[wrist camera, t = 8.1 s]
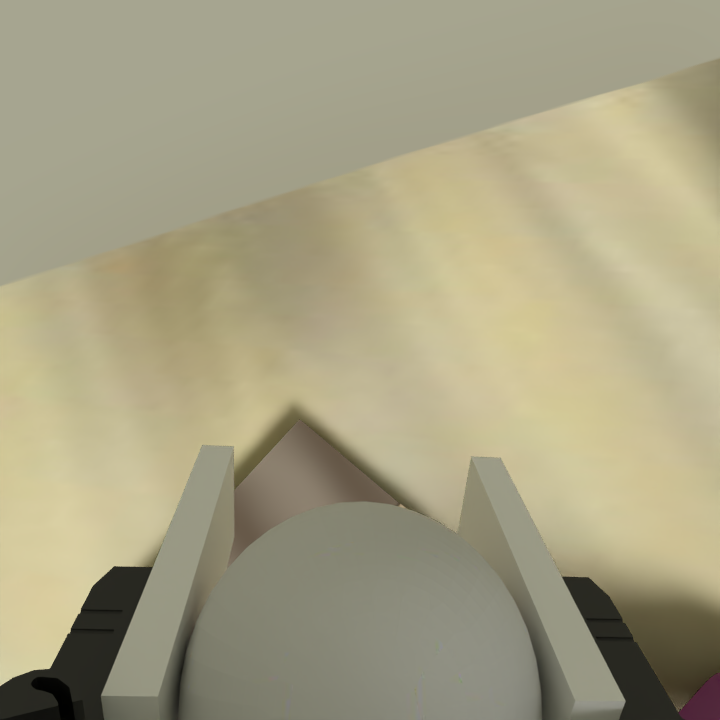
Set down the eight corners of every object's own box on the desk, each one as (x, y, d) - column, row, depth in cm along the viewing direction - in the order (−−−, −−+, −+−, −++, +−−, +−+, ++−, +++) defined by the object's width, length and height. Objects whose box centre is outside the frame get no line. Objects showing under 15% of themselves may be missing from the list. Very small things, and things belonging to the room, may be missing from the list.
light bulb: (402, 514, 18) (507, 424, 8) (470, 724, 16) (707, 908, 6) (213, 572, 16) (97, 542, 7) (259, 807, 14) (179, 1176, 5)
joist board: (299, 425, 31) (299, 418, 30) (541, 629, 28) (552, 631, 27) (96, 647, 26) (85, 650, 25) (363, 922, 23) (366, 941, 22)
